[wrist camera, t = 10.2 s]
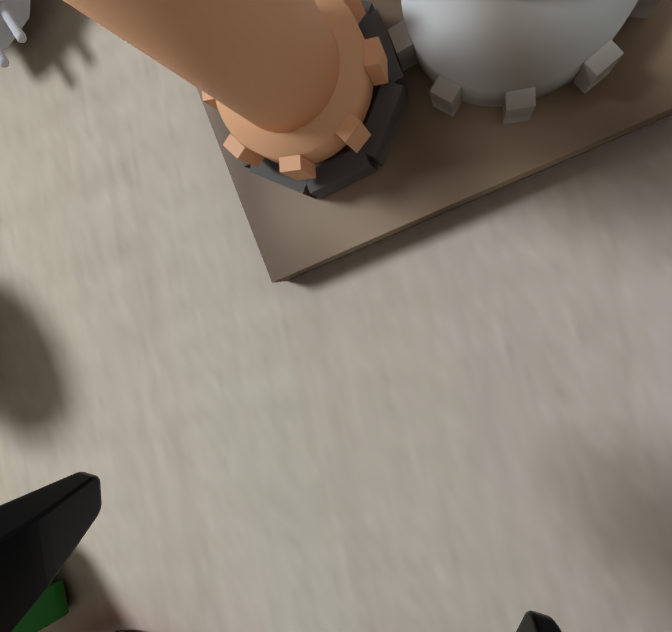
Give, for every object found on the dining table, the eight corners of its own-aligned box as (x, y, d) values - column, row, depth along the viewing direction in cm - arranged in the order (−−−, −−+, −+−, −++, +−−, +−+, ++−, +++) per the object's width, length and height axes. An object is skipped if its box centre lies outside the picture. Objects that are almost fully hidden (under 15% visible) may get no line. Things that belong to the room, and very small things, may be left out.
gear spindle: (432, 86, 16) (305, -527, 4) (325, 220, 18) (5, 124, 6) (312, -12, 17) (-115, -761, 5) (223, 126, 19) (-244, -137, 6)
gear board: (595, -227, 14) (657, -466, 10) (714, 95, 14) (833, 16, 10) (198, 54, 20) (116, -8, 16) (285, 281, 20) (230, 287, 16)
